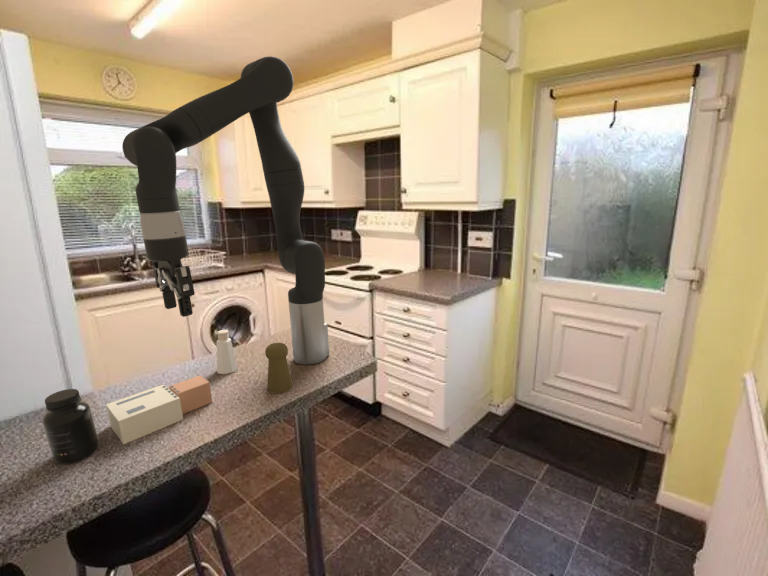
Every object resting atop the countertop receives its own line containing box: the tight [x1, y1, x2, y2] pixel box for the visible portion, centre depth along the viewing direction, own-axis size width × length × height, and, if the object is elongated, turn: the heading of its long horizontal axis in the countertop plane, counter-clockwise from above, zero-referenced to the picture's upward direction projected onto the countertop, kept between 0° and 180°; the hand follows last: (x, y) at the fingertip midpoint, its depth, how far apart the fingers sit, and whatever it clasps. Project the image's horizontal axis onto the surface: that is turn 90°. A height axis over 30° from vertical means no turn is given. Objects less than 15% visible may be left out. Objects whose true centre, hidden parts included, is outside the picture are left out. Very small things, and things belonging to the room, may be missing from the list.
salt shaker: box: [215, 329, 239, 375], centre depth 104 cm, size 5×5×11 cm
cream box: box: [105, 384, 184, 445], centre depth 82 cm, size 11×9×5 cm
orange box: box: [168, 375, 213, 415], centre depth 88 cm, size 7×5×5 cm
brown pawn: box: [264, 342, 294, 394], centre depth 95 cm, size 6×6×11 cm
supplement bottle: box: [42, 388, 100, 465], centre depth 72 cm, size 7×7×12 cm
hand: (178, 311), depth 83 cm, fingers open, 8 cm apart
